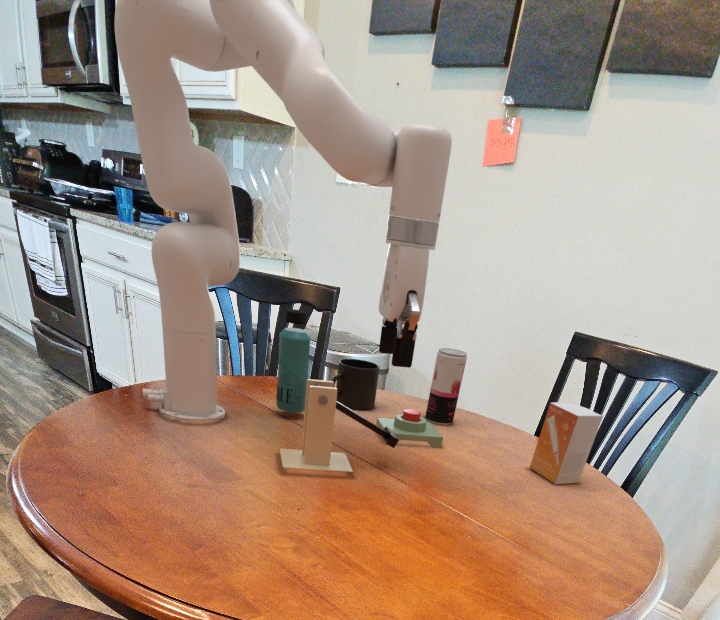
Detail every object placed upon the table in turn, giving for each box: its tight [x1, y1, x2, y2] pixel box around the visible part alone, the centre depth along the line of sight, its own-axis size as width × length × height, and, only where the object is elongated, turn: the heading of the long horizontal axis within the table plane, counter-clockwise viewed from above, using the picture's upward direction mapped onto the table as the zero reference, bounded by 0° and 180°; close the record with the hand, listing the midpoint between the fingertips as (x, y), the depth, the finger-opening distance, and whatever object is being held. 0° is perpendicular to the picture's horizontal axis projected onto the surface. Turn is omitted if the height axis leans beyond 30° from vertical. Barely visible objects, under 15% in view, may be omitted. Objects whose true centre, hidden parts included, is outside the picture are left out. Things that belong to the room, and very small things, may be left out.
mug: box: [331, 358, 381, 411], centre depth 135 cm, size 9×12×9 cm
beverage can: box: [424, 347, 468, 426], centre depth 133 cm, size 7×6×15 cm
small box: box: [529, 401, 604, 485], centre depth 112 cm, size 8×6×13 cm
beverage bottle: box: [275, 308, 312, 413], centre depth 120 cm, size 6×7×20 cm
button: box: [402, 408, 422, 422], centre depth 121 cm, size 4×4×2 cm
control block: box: [375, 413, 444, 449], centre depth 123 cm, size 12×10×4 cm
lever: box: [315, 383, 400, 449], centre depth 99 cm, size 16×5×2 cm, turn 100°
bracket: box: [279, 378, 354, 473], centre depth 99 cm, size 12×9×14 cm
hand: (394, 359), depth 97 cm, fingers open, 9 cm apart
